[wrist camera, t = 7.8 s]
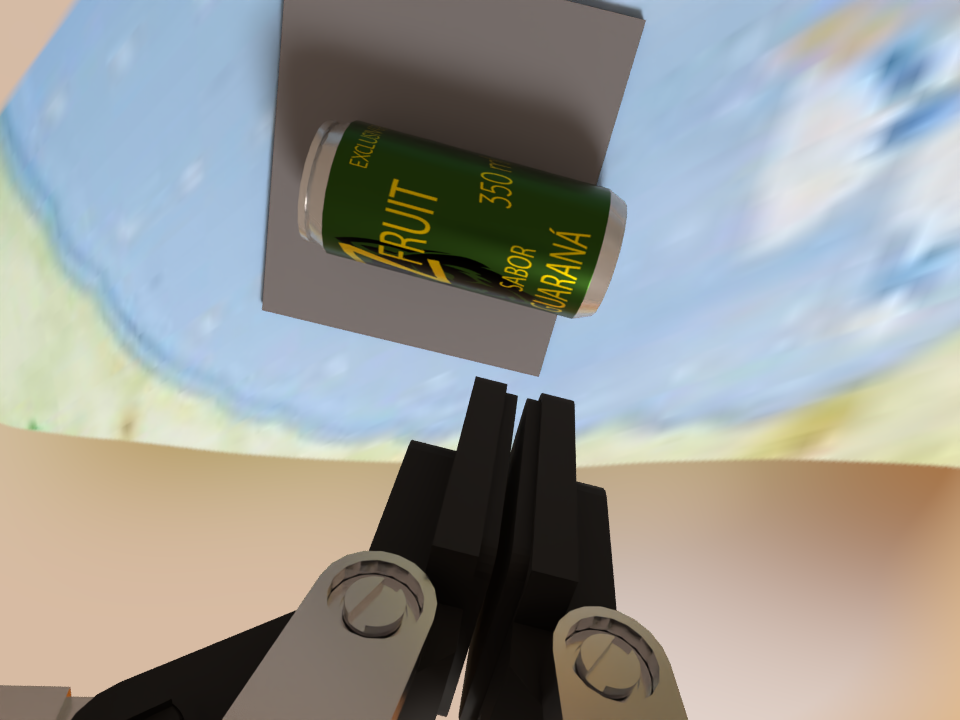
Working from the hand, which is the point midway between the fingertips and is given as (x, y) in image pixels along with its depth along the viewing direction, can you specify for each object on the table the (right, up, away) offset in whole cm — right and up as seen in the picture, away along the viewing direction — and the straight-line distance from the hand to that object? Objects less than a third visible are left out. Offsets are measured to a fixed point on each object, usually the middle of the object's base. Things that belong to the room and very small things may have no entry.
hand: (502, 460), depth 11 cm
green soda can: (+5, +6, +15) cm, 17 cm away
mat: (-3, +10, +18) cm, 20 cm away
